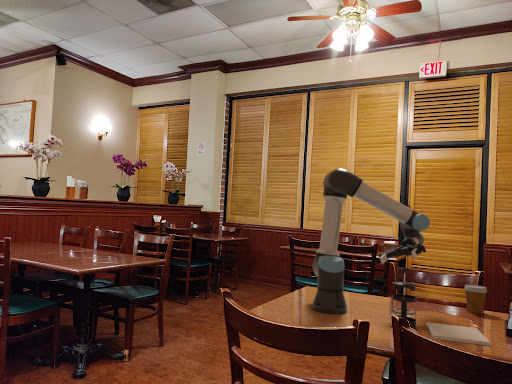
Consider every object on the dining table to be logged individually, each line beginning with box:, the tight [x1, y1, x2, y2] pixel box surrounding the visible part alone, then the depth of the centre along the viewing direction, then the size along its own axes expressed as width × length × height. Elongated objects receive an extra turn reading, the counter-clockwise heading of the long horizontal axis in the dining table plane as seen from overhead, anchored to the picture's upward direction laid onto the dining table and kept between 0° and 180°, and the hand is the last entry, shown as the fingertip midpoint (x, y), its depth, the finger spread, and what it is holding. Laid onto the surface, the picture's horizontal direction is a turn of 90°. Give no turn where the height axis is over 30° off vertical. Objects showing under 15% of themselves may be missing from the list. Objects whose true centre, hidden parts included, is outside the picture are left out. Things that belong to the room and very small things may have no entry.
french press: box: [391, 267, 418, 331], centre depth 151 cm, size 12×9×23 cm
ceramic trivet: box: [425, 321, 491, 347], centre depth 143 cm, size 18×18×1 cm
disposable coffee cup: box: [463, 284, 488, 315], centre depth 181 cm, size 10×10×12 cm
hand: (396, 258), depth 162 cm, fingers open, 13 cm apart
